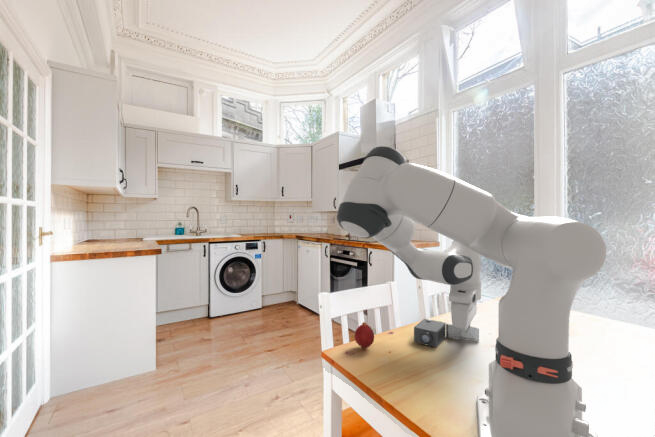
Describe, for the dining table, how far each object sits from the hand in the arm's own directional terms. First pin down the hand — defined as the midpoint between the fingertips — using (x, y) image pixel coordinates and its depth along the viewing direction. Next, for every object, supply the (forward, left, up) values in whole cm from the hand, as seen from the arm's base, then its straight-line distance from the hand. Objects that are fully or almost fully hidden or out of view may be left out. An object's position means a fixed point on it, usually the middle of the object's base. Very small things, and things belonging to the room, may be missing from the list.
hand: (465, 335), depth 92 cm
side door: (+2, +1, -2) cm, 3 cm away
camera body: (-4, +10, -2) cm, 11 cm away
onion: (-23, +23, -2) cm, 33 cm away
